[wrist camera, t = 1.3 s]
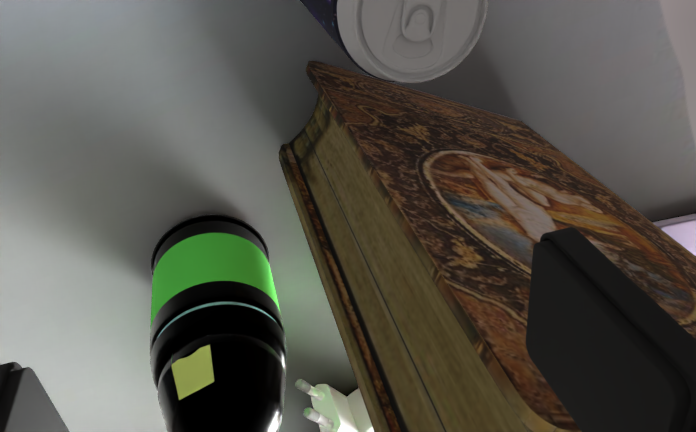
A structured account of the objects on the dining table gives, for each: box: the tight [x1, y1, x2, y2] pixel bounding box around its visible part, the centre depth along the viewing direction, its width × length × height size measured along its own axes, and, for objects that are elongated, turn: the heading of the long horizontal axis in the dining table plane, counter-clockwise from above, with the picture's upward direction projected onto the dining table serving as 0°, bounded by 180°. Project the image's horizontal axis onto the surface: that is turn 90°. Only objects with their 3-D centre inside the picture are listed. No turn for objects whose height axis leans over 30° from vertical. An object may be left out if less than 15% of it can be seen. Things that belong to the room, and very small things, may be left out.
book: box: [279, 61, 696, 432], centre depth 26 cm, size 16×6×25 cm, turn 70°
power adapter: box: [295, 379, 374, 432], centre depth 45 cm, size 11×5×6 cm
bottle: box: [150, 215, 287, 432], centre depth 31 cm, size 7×7×15 cm
